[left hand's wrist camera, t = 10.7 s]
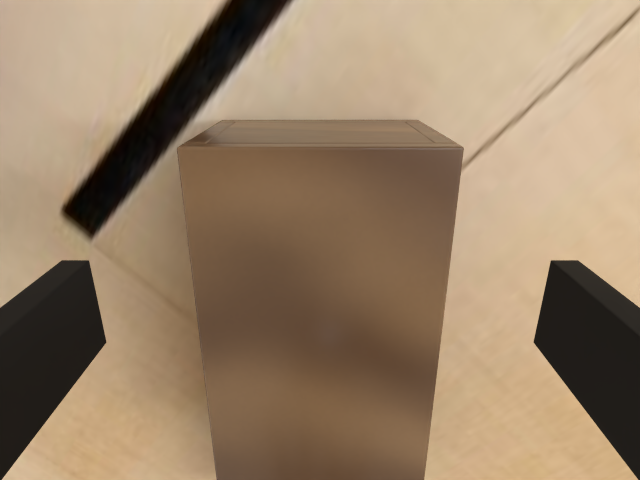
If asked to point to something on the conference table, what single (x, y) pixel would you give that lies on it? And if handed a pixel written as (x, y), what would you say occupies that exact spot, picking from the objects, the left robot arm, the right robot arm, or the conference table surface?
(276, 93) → the conference table surface
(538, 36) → the conference table surface
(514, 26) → the conference table surface
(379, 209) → the cabinet
